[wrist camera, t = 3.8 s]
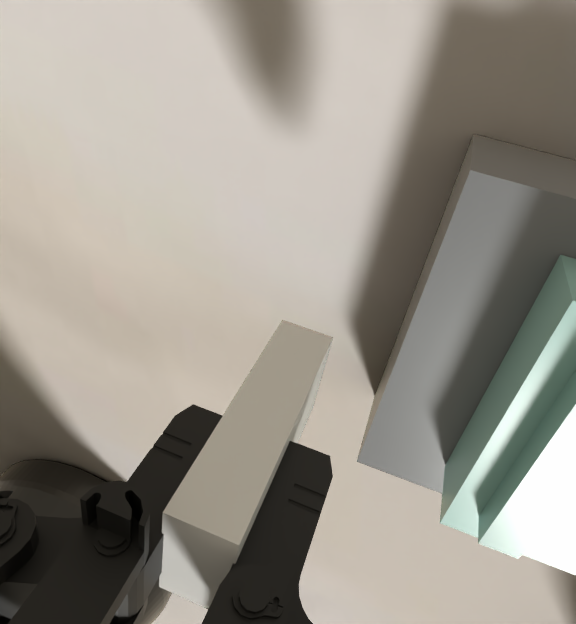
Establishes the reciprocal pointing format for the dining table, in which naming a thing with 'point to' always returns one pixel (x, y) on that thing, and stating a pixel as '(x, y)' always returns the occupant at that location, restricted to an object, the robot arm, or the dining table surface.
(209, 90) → the dining table surface
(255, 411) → the robot arm
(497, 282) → the socket
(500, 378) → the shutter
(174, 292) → the dining table surface
